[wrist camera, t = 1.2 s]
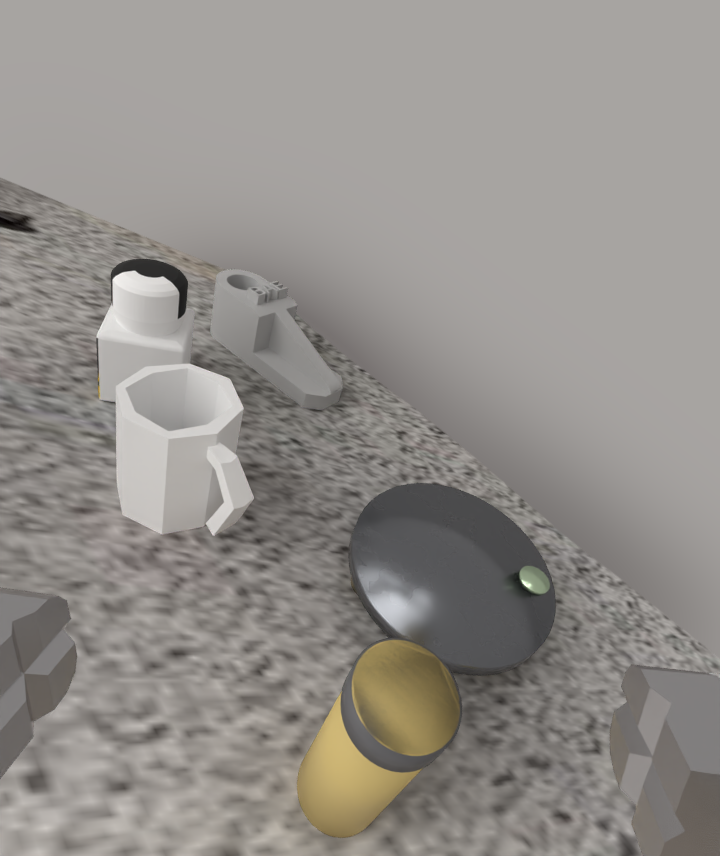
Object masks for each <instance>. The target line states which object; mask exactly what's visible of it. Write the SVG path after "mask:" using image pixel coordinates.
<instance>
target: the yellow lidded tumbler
mask: <svg viewBox="0 0 720 856" xmlns="http://www.w3.org/2000/svg"><path fill="white" fill-rule="evenodd" d="M461 716H462V703H461V696H460V692H459V689H458V686H457V683H456V681H455V679H454V677H453V675H452V673H451V671H450V670H449V668H448V667H447V666H446V664H445V663H444V662H443V661H442V660H441V659H440V658H439V657H438V656H437V655H436V654H435V653H434V652H433V651H431V650H430V649H428V648H427V647H425V646H423V645H422V644H420V643H417V642H415V641H412V640H409V639H403V638H387V639H383V640H380V641H377V642H375V643H373V644H371V645H370V646H368V647H367V648H366V649H365V650H364V651H363V652H362V653H361V654H360V655H359V657H358V658H357V660H356V661H355V663H354V665H353V667H352V669H351V671H350V672H349V674H348V676H347V678H346V680H345V682H344V685H343V688H342V691H341V693H340V695H339V697H338V698H337V700H336V702H335V704H334V706H333V707H332V709H331V711H330V713H329V715H328V716H327V718H326V720H325V722H324V724H323V725H322V727H321V729H320V731H319V733H318V734H317V736H316V738H315V740H314V742H313V743H312V745H311V747H310V749H309V750H308V752H307V754H306V756H305V758H304V760H303V762H302V764H301V766H300V769H299V773H298V780H297V791H298V798H299V802H300V805H301V807H302V810H303V812H304V814H305V816H306V817H307V819H308V820H309V821H310V822H311V824H312V825H313V826H314V827H316V828H317V829H318V830H319V831H321V832H323V833H324V834H327V835H329V836H332V837H338V838H345V837H350V836H354V835H356V834H358V833H360V832H362V831H363V830H364V829H365V828H367V827H368V826H369V824H370V823H371V822H372V821H373V820H374V819H375V818H376V817H377V816H378V815H379V814H380V813H381V812H382V811H383V810H384V809H385V808H386V807H387V806H388V804H389V803H390V802H391V801H392V800H393V799H394V798H395V797H396V796H397V795H398V794H399V793H400V792H401V791H402V790H403V789H404V788H405V787H406V786H407V785H408V783H409V782H410V781H411V780H412V779H413V778H414V777H415V776H416V775H417V774H418V773H419V772H420V771H421V770H422V769H423V768H424V767H426V766H428V765H429V764H430V763H432V762H433V761H434V760H435V759H436V758H437V757H438V756H439V755H440V754H441V753H442V752H443V751H444V749H445V748H446V747H447V746H448V745H449V744H450V743H451V742H452V740H453V739H454V737H455V736H456V734H457V731H458V729H459V726H460V722H461Z"/></svg>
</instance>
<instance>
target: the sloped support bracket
mask: <svg viewBox="0 0 720 856" xmlns="http://www.w3.org/2000/svg"><path fill="white" fill-rule="evenodd" d="M278 283H279V281H274V282H271V283H269V282H268V281H266V280H265V279H263V278H262V277H260V276H259V275H257V274H254V273H252V272H248V271H244V270H235V269H234V270H233V269H231V270H225V271H222V272H220V273H218V275H217V276H216V284H215V293H214V302H213V311H212V320H211V328H210V333H211V335H212V337H213V338H214V339H215V340H217V341H218V342H219V343H220V344H222V345H223V346H224V347H226V348H227V349H228V350H229V351H231V352H232V353H233V354H234V355H236V356H237V357H238V358H240V359H241V360H242V361H243V362H245V363H246V364H247V365H249V366H250V367H251V368H252V369H254V370H255V371H256V372H258V373H259V374H260V375H261V376H263V377H264V378H265V379H267V380H268V381H269V382H270V383H272V384H273V385H274V386H276V387H277V388H278V389H279V390H281V391H282V392H283V393H285V394H286V395H287V396H288V397H290V398H291V399H292V400H294V401H295V402H296V403H297V404H299V405H300V406H301V407H303V408H310V409H316V410H323V409H325V408H327V407H329V406H331V405H333V404H335V403H337V402H339V398H340V395H341V392H342V389H343V386H342V377H341V376H340V375H339V374H337V373H336V372H334V371H333V370H332V369H330V368H329V367H328V366H327V364H326V363H325V362H324V360H323V359H322V357H321V356H320V355H319V353H318V352H317V351H316V349H315V348H314V347H313V345H312V344H311V342H310V341H309V340H308V338H307V337H306V336H305V334H304V333H303V332H302V330H301V329H300V327H299V326H298V325H297V323H296V322H295V321H294V319H295V315H296V310H297V304H296V302H295V301H294V300H293V298H291V297H290V296H288V295H287V292H288V287H285V288H282V286H283V285H282V284H279V285H278Z"/></svg>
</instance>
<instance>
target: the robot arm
mask: <svg viewBox="0 0 720 856" xmlns="http://www.w3.org/2000/svg"><path fill="white" fill-rule="evenodd" d="M70 619H71V617H70V612H69V608H68V603H67V600H65V599H63V598H61V597H59V596H55V595H48V594H42V593H35V592H28V591H21V590H14V589H7V588H0V779H1V778H2V776H3V775H4V774H5V772H6V771H7V770H8V769H9V767H10V766H11V765H12V763H13V762H14V761H15V760H16V758H17V757H18V756H19V754H20V753H21V752H22V751H23V749H24V748H25V747H26V746H27V744H28V743H29V742H30V740H31V739H32V738H33V737H34V721H35V720H37V719H39V718H41V717H42V716H44V715H46V714H48V713H49V712H51V711H53V710H54V709H55V708H56V707H57V705H58V704H59V703H60V701H61V700H62V699H63V697H64V696H65V695H66V693H67V691H68V689H69V686H70V684H71V681H72V679H73V676H74V674H75V670H76V661H77V653H76V646H75V642H74V641H73V640H72V639H71V638H70V637H69V635H68V634H67V633H66V632H65V631H64V630H63V629H64V628H65V626H66V625H67V624H68V622H69V621H70ZM621 688H622V690H623V692H624V695H625V697H626V700H627V703H625V704H624V705H623V706H621V707H620V708H618V709H617V710H616V711H614V715H613V719H612V723H611V728H610V755H611V760H612V765H613V770H614V773H615V776H616V779H617V782H618V786H619V789H620V790H621V791H622V792H623V793H624V794H625V795H626V796H627V797H628V798H629V799H630V800H631V801H632V802H633V803H634V804H635V805H636V810H635V813H634V816H633V819H632V823H631V824H632V827H633V829H634V832H635V835H636V838H637V841H638V844H639V847H640V849H641V852H642V855H643V856H720V673H703V672H694V671H685V670H676V669H667V668H659V667H650V666H641V665H632V664H631V666H630V667H629V668H628V670H627V671H626V672H625V675H624V679H623V682H622V685H621Z"/></svg>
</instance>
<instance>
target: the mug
mask: <svg viewBox="0 0 720 856" xmlns="http://www.w3.org/2000/svg"><path fill="white" fill-rule="evenodd" d="M243 410H244V408H243V405H242V403H241V401H240V399H239V397H238V395H237V393H236V391H235V388H234V386H233V384H232V382H231V380H230V379H229V378H227V377H224V376H221V375H219V374H216V373H213V372H211V371H208V370H205V369H203V368H200V367H197V366H195V365H192V364H175V365H161V366H147V367H144V368H143V369H141V370H140V371H138V372H137V373H135V374H134V375H132V376H130V377H129V378H127V379H126V380H124V381H123V382H121V383H120V384H118V385H117V386H116V462H117V488H118V494H119V499H120V504H121V509H122V515H124V516H126V517H128V518H130V519H132V520H134V521H136V522H138V523H140V524H142V525H144V526H146V527H148V528H149V529H151V530H153V531H155V532H157V533H159V534H161V535H163V534H168V533H174V532H179V531H184V530H190V529H195V528H200V527H204V526H205V525H207V526H208V528H209V530H210V531H211V533H212V535H213V536H214V535H216V534H218V533H220V532H221V531H223V530H225V529H227V528H228V527H230V526H232V525H234V524H235V523H237V521H238V520H239V518H240V517H241V516H242V514H243V513H244V512H245V510H246V509H247V508H248V506H249V505H250V503H251V502H252V501H253V499H254V496H253V494H252V491H251V489H250V486H249V484H248V481H247V479H246V476H245V474H244V471H243V469H242V466H241V464H240V461H239V459H238V456H237V455H236V449H237V444H238V438H239V433H240V427H241V421H242V416H243Z"/></svg>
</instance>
